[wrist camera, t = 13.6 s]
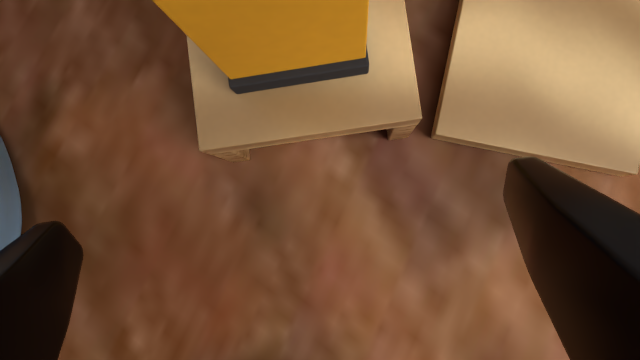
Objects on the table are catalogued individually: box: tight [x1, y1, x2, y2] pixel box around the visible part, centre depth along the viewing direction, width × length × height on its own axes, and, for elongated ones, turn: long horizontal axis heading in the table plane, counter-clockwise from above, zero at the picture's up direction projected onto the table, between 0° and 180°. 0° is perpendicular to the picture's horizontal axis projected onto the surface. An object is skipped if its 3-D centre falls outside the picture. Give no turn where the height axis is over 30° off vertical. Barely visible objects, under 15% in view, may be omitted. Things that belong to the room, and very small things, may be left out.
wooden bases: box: [187, 0, 640, 176], centre depth 18 cm, size 17×23×4 cm
